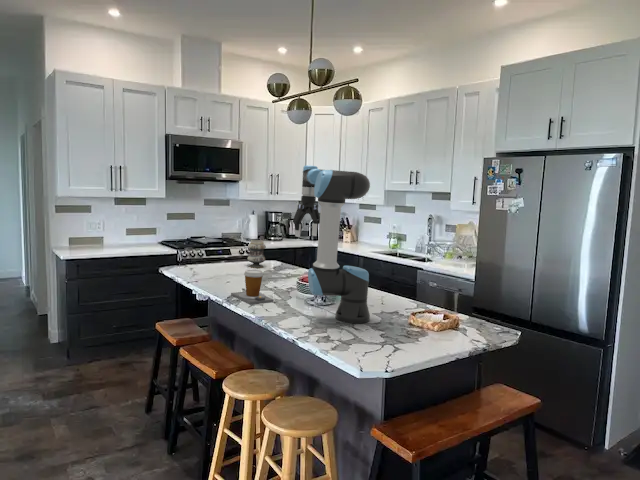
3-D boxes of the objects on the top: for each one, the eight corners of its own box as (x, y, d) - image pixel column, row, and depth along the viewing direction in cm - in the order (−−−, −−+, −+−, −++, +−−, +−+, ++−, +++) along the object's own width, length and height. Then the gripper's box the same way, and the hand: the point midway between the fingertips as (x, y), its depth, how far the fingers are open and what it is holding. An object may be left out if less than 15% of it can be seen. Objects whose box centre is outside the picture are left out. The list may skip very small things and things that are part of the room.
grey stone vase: (258, 264, 335) (260, 239, 333) (268, 268, 326) (269, 241, 324) (243, 265, 328) (244, 239, 326) (253, 269, 319) (254, 242, 317)
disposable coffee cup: (258, 298, 234) (259, 274, 233) (240, 296, 236) (241, 272, 234) (264, 294, 243) (266, 270, 242) (247, 292, 245) (248, 268, 244)
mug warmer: (231, 295, 244) (231, 289, 243) (253, 293, 251) (253, 287, 251) (250, 304, 228) (250, 298, 228) (273, 301, 236) (274, 295, 235)
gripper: (317, 196, 263) (315, 234, 265) (287, 194, 243) (284, 236, 245) (328, 196, 258) (326, 236, 261) (298, 195, 239) (296, 237, 241)
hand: (306, 236), depth 253 cm, fingers open, 13 cm apart
